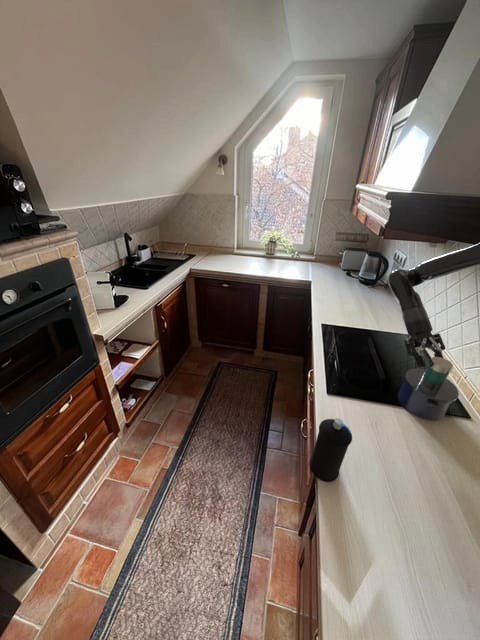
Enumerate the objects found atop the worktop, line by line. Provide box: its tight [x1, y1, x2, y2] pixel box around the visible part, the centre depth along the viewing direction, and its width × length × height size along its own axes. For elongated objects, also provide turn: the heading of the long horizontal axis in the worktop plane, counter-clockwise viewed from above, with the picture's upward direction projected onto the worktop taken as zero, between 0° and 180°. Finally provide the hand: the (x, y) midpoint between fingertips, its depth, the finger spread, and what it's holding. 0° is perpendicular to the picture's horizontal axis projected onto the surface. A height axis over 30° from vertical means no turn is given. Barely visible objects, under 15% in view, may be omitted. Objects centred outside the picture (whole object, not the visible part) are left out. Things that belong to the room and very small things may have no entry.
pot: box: [397, 368, 460, 421], centre depth 92 cm, size 16×18×10 cm
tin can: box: [421, 356, 454, 389], centre depth 87 cm, size 6×6×10 cm
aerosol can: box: [309, 417, 353, 483], centre depth 68 cm, size 8×8×20 cm
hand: (431, 365), depth 89 cm, fingers open, 8 cm apart
